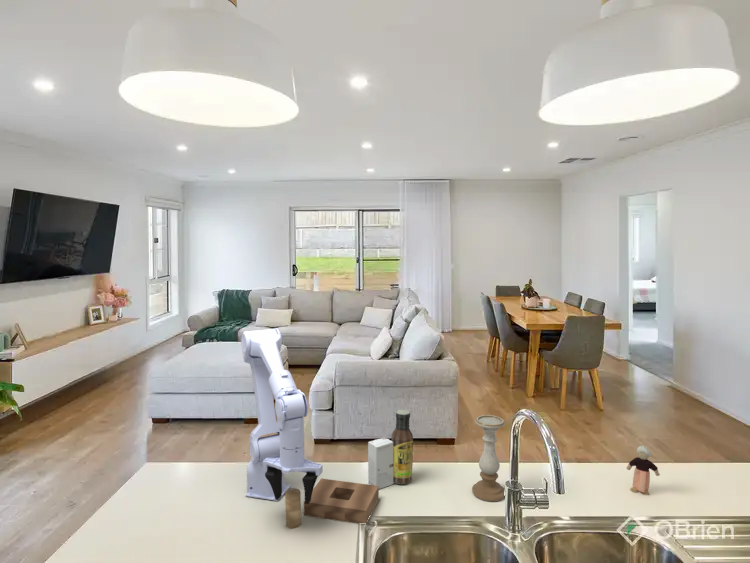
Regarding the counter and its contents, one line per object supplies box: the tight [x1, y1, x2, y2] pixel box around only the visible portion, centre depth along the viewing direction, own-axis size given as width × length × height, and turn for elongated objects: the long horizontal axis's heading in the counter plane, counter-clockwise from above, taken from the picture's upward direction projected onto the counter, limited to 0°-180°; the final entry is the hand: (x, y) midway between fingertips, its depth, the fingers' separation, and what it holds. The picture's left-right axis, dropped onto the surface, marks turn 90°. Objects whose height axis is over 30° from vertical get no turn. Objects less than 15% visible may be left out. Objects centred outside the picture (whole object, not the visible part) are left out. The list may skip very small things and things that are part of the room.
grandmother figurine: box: [626, 445, 661, 496], centre depth 128 cm, size 8×4×13 cm, turn 68°
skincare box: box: [367, 437, 395, 490], centre depth 133 cm, size 6×4×12 cm
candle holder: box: [471, 414, 506, 502], centre depth 127 cm, size 9×9×20 cm
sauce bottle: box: [391, 409, 414, 485], centre depth 134 cm, size 6×6×20 cm
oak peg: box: [284, 487, 302, 530], centre depth 114 cm, size 4×4×8 cm
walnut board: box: [303, 478, 380, 525], centre depth 122 cm, size 16×12×4 cm
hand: (293, 499), depth 114 cm, fingers open, 7 cm apart
